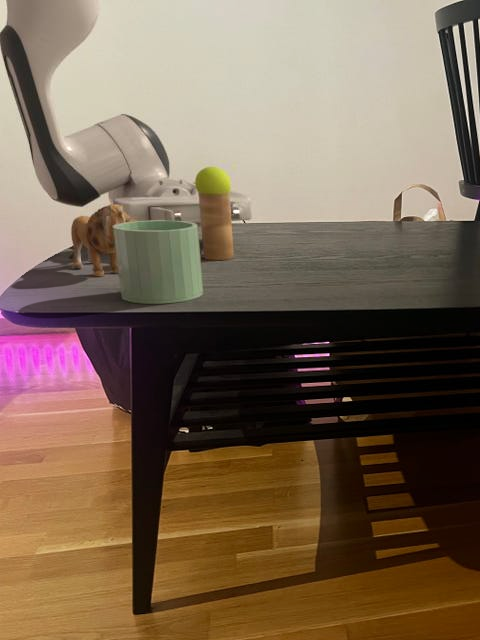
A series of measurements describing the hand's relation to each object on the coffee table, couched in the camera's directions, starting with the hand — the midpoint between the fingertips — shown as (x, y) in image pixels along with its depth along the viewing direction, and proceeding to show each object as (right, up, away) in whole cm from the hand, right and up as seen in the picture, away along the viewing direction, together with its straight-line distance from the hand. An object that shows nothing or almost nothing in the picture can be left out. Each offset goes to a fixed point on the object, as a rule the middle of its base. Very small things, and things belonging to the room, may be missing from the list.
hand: (208, 215), depth 103 cm
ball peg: (+1, -6, 0) cm, 6 cm away
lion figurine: (-10, -10, -11) cm, 17 cm away
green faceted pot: (+3, -14, -22) cm, 26 cm away
